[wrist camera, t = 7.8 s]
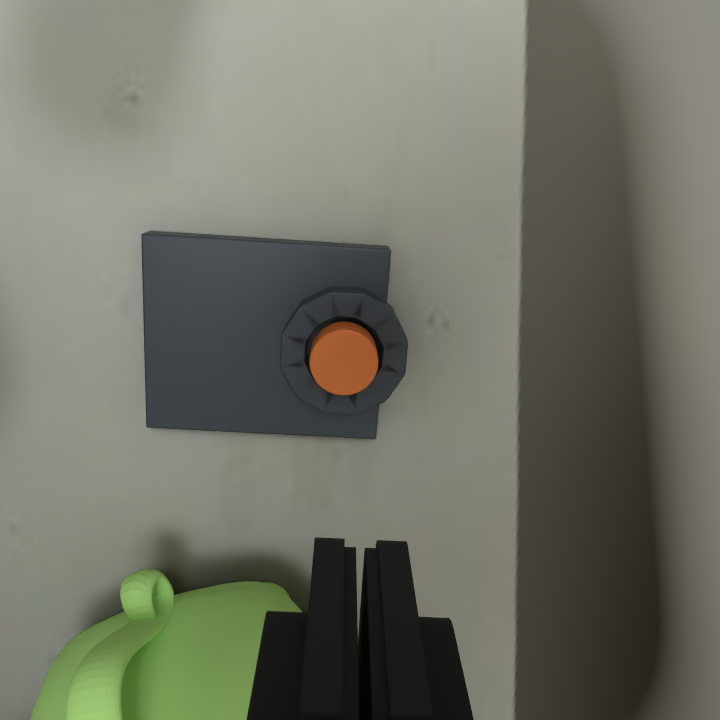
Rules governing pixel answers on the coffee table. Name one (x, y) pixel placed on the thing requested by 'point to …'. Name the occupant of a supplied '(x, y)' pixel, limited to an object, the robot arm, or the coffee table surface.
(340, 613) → the robot arm
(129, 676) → the teapot
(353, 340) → the button
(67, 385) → the coffee table surface
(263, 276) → the button base
